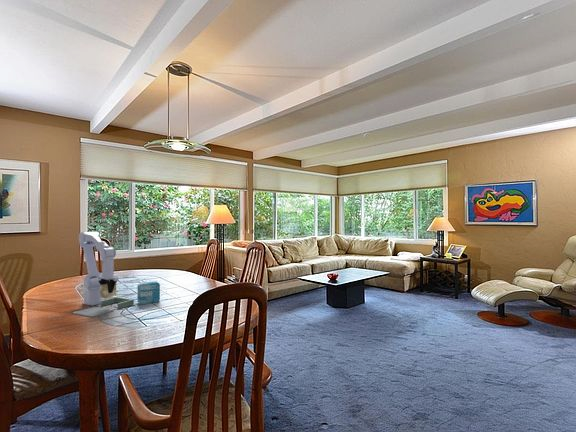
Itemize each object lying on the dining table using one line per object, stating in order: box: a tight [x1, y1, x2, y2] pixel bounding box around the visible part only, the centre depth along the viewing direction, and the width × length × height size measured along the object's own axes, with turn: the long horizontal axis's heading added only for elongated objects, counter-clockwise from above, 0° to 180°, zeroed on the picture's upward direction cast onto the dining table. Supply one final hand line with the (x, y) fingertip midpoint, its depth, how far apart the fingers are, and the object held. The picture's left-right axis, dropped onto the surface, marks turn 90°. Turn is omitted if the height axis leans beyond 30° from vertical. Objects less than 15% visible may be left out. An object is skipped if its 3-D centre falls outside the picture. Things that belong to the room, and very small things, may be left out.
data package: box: [136, 281, 161, 305], centre depth 192 cm, size 12×4×12 cm, turn 124°
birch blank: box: [100, 283, 117, 299], centre depth 180 cm, size 4×7×7 cm, turn 158°
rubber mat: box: [72, 306, 114, 318], centre depth 172 cm, size 16×12×1 cm
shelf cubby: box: [100, 296, 135, 310], centre depth 185 cm, size 15×10×3 cm, turn 66°
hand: (107, 292), depth 180 cm, fingers closed on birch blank, 4 cm apart
